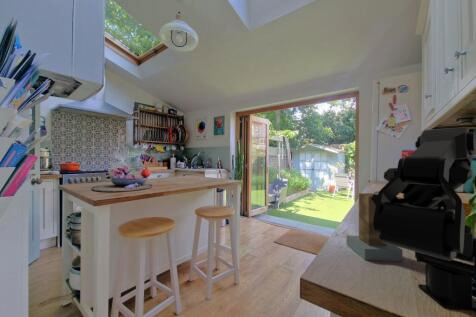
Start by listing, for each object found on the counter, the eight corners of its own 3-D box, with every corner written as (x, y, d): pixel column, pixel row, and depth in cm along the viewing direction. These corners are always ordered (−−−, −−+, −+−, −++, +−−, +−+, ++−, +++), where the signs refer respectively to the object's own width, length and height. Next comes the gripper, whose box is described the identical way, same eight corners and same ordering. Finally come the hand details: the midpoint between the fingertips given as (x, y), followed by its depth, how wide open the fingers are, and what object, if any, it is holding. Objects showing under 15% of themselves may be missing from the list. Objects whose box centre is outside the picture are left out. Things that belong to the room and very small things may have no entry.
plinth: (402, 260, 55) (402, 249, 56) (364, 260, 56) (364, 248, 56) (378, 245, 65) (378, 236, 66) (346, 245, 66) (346, 235, 66)
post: (386, 245, 58) (386, 196, 58) (368, 245, 58) (368, 196, 58) (375, 239, 63) (375, 193, 63) (358, 238, 63) (358, 193, 63)
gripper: (441, 155, 51) (400, 193, 62) (375, 157, 48) (345, 197, 59) (485, 192, 43) (430, 228, 54) (410, 197, 40) (368, 234, 51)
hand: (392, 220), depth 54 cm, fingers open, 9 cm apart
